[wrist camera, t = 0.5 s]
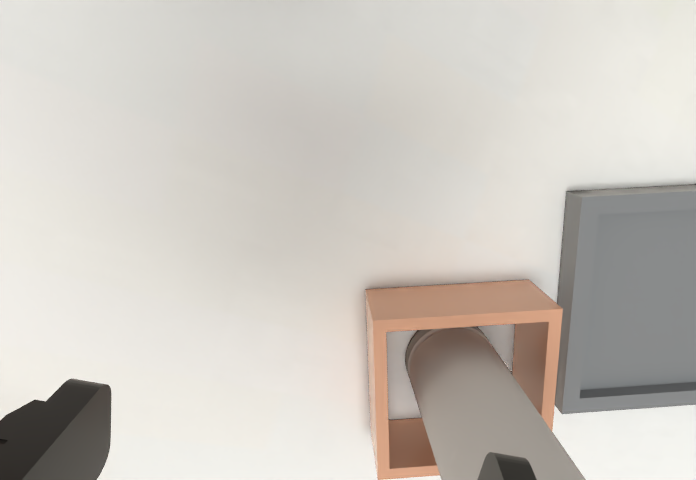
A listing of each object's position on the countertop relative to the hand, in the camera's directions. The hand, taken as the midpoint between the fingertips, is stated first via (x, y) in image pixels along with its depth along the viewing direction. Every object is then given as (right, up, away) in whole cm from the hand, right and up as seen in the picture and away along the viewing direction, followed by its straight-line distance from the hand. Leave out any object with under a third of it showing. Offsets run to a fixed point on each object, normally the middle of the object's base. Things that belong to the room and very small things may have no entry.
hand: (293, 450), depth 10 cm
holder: (+8, -4, +25) cm, 27 cm away
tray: (+24, 0, +25) cm, 35 cm away
